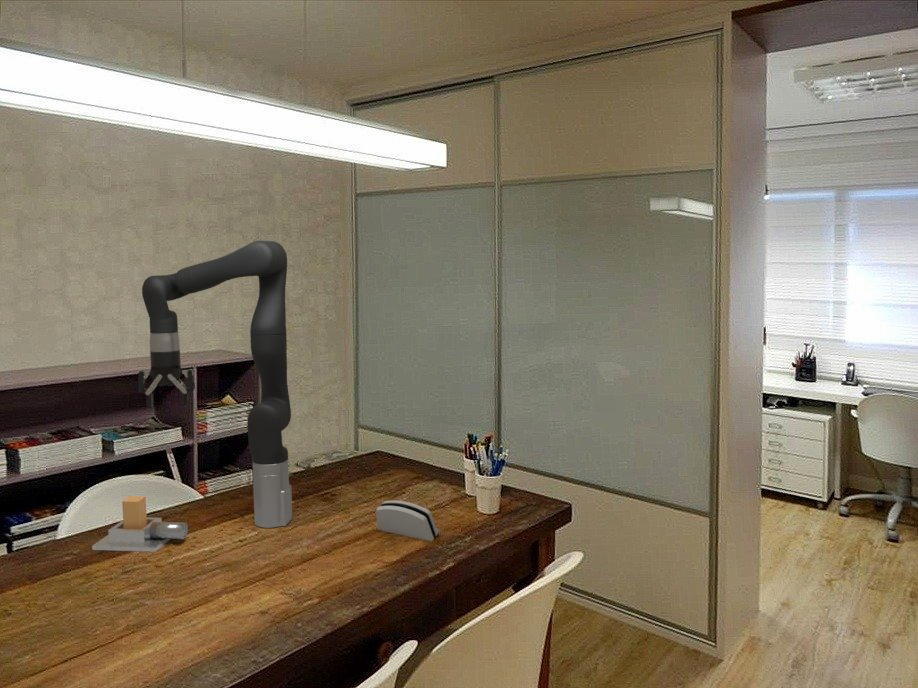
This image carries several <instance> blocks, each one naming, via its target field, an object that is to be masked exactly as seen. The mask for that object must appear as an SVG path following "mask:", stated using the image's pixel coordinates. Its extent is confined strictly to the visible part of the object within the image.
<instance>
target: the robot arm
mask: <svg viewBox="0 0 918 688" xmlns="http://www.w3.org/2000/svg"><path fill="white" fill-rule="evenodd" d="M286 252H287V251H286V250H285V248H284V247H283V246H282V245H281V244H280V243H278V242H277V241H275V240H254V241H252V242H250V243H248V244H246V245H244V246H242V247H240V248H238V249H236V250H234V251H233V252H230V253H228V254H226V255H223V256H221V257H218V258H214V259H210V260H207V261H203V262H199V263H197V264H192V265H189V266H186V267H184V268H181V269H179V270H178V271H177V272H175V273H174V272H173V273H172V274H164V275H162V274H160V275H150V276H147V278H146V279H144V281H143V283H142V288H141V295H142V300H143V303H144V305H145V309H146V312H147V314H148V317H149V333H150V334H149V355H150V356H149V357H150V370H144V369H141V370H140V371H138V375H137V376H138V379H137V380H138V381H137V382H138V384H137V386H138V388H137V392H138V393H139V394H142V395H143V394H144V395H145V400H146V401H145V402H146V407H148V409H153V408H154V395H153V392H154V390H155V389H156V388H157V386H159V387H165V386H167V387H173V386H175V387H176V388H177V389H179V391H180V392H181V407H182V408H186V407H187V405H188V404H189V393H191V392H194V390H195V389H196V385H195V384H196V383H195V374H194V369H193V368H189V369H182V366H181V365H182V364H181V344H180V336H179V324H178V322H179V321H178V315H177V313H176V311H174V310H170V308H169V305H168V302H170V301H174V300H175V301H176V300H179V299H181V298H183V297H187V296H188V295H190V294H191V295H192V294H195V293H198V292H202V291H206V290H210V289H212V288H215V287H217V286H219V285H221V284H222V283H226V282H227V281H231V280H233V279H234V280H235V279H237V278H244V277H245V278H246V277H258V287H259V290H258V293H259V294H258V298H257V299H258V300H257V303H256V306H255V309H254V312H253V315H252V318H251V321H250V322H251V323H250V328H249V329H250V333H249V334H250V335H249V336H250V352H251V356H252V360H253V362H254V365H255V367H256V370H257V372H258V375H259V377H260V386H261V387H260V388H261V389H260V390H261V394H260V402H259V403H257V404H255V406H253V407H252V408H251V409H250V411H249V413H248V415H247V424H246V425H247V437H248V449H249V452H250V454H251V457H252V483H253V484H252V485H253V509H254V510H253V512H254V514H253V518H254V524H255V526H256V527H260V528H265V529H270V528H271V529H272V528H280V527H286V526H287V525H289V522H291V520H292V519H293V503H292V502H293V494H292V484H290V481H289V479H290V478H289V476H290V474H289V472H290V471H289V451H288V448H287V447H285V446H284V444H283V434H282V431H284V430H285V429H286V428H287V427H288V426H289V424H290V422H291V418H292V409H291V401H290V395H289V394H290V393H289V387H288V359H287V357H288V356H287V355H288V352H287V349H288V346H287V345H288V339H287V336H288V335H287V319H286V315H287V314H286V312H287V311H286V287H287V286H286V285H287V284H286V283H287V282H286V281H287V272H288V257H287V256H288V255H287V253H286ZM183 375H184V377H185V378H187V382H188V383H187V385H188V387H187V386H186V384H185V383H184V382H183V381H182V379H181V377H182V376H183ZM148 376H150V378H151V379H152V383H151V384H150V386H149V387H148V388H146V379H147V378H148Z"/></svg>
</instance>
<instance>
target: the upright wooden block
mask: <svg viewBox="0 0 918 688" xmlns="http://www.w3.org/2000/svg"><path fill="white" fill-rule="evenodd" d="M121 503H122V504H121V505H122V507H121V508H122V519H123V525H124V529H143V528H144V527H145V526H147V500H146V496H145V495H143V496H142V495H140V496H137V495H130V496H128V497H126V498H125V499H124V500H122V501H121Z"/></svg>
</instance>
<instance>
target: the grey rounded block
mask: <svg viewBox="0 0 918 688" xmlns="http://www.w3.org/2000/svg"><path fill="white" fill-rule="evenodd" d="M375 517H376V525H377V530H378V531H383V532H387V533H391V534H396V535H400V536H404V537H410V538H414V539H419V540H423V541H427V542H433V541H434V540H435V537H436V536H440V535H441V532H440V529H439V528H437V526H436V524H435V521H434V517H433V515H432V512H431V511H430V510H429V509H427V508H425V507H423V506H420V505H418V504H415V503H412V502H409V501H405V500H396V499H395V500H386V501H383V502H382V503H380V504H379V506H378V507H377V508H376V510H375ZM434 536H435V537H434Z"/></svg>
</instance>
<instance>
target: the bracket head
mask: <svg viewBox="0 0 918 688" xmlns="http://www.w3.org/2000/svg"><path fill="white" fill-rule="evenodd" d="M188 530H189V528H188V523H187V522H175V521H173V522H171V521H170V522H169V521H168V522H167V521H163V520H162V517H150V516H149V517H147V526H145V527H144V528H143V529H124V525H123V520H120V521H119V522H118V523H117V524H115V525H114V526H112V527H111V528H110V529H109V528H108V530H107V532H108V534H107V535H105V536H104V537H103V538H102V539H99V540H98V541H97V542H96V543H94V544H93V545H92V546H91V550H92V551H121V552H153V553H154V552H155V553H156V552H158V551H159V550H160V549H161V548H162V547H163V546H165V544H167V543H168V542H169V541H170V540H185V538H186V537H187V535H188Z"/></svg>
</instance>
